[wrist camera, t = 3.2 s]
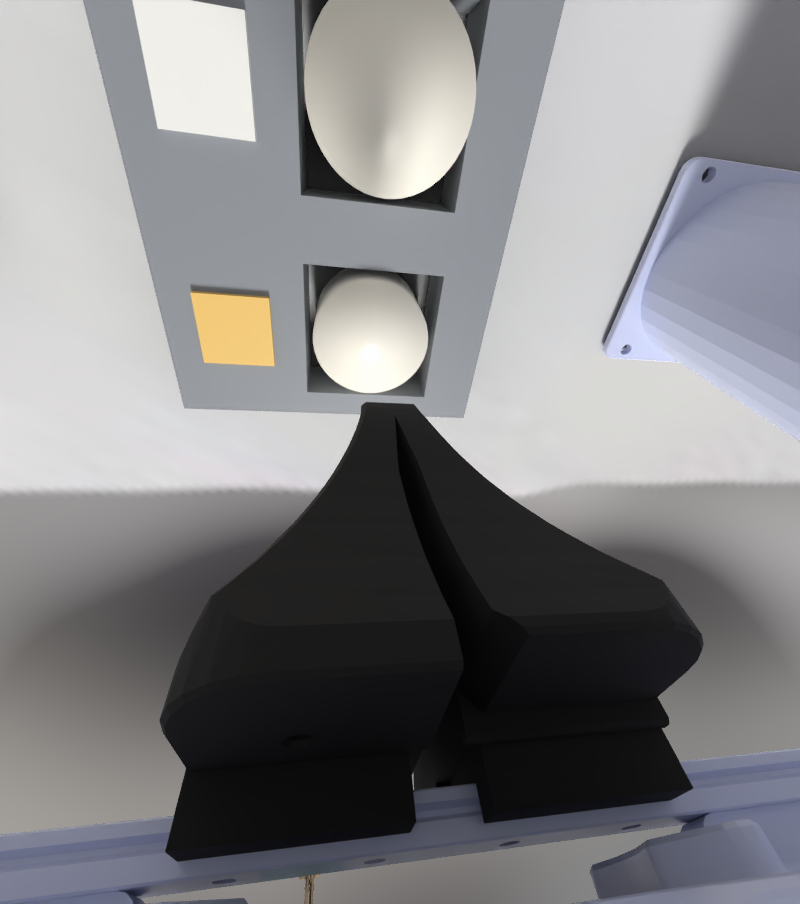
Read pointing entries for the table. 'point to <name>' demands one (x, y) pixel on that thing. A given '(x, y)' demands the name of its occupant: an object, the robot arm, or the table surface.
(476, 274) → the button board
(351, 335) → the button end
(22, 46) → the table surface
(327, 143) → the button middle
